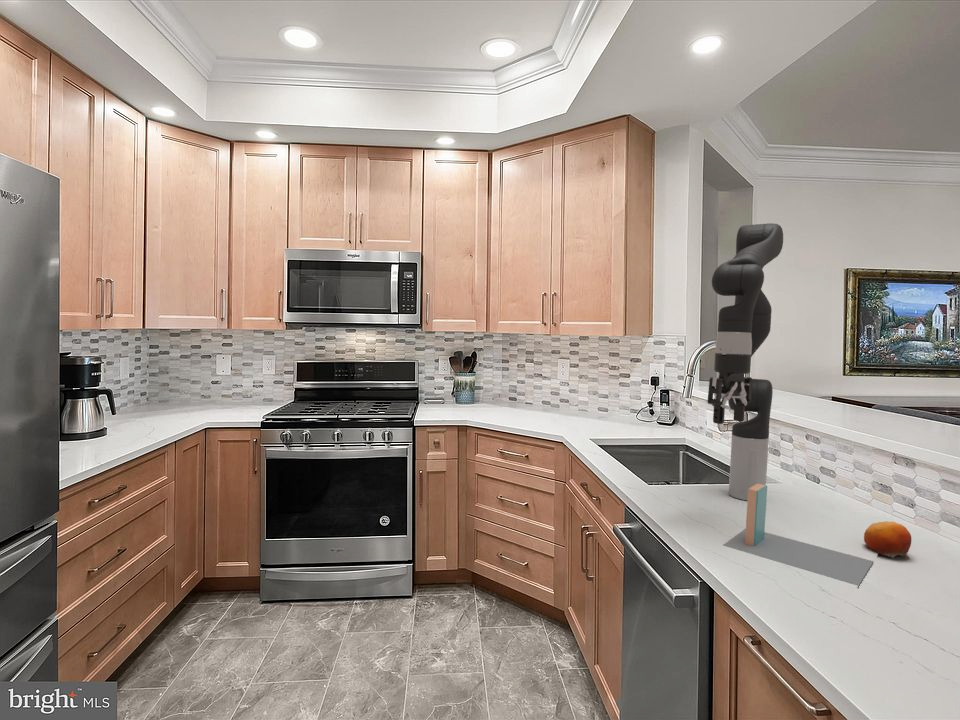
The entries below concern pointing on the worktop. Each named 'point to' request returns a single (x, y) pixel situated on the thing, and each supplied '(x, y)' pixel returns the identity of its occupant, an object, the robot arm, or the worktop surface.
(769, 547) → the mat
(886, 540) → the fruit
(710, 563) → the worktop surface
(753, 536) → the tile
